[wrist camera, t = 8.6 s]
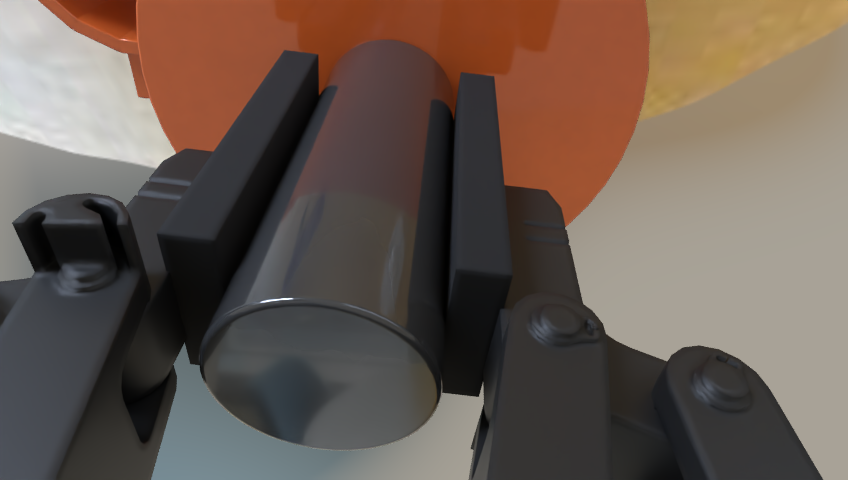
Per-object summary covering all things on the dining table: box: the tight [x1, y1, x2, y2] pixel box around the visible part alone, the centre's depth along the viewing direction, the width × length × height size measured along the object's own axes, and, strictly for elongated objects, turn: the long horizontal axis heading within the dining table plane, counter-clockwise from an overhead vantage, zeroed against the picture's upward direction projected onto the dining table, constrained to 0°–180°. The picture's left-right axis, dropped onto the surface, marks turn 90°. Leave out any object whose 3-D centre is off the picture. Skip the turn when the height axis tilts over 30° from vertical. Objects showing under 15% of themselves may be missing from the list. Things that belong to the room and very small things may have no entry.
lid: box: [136, 0, 650, 450], centre depth 11 cm, size 12×12×10 cm
